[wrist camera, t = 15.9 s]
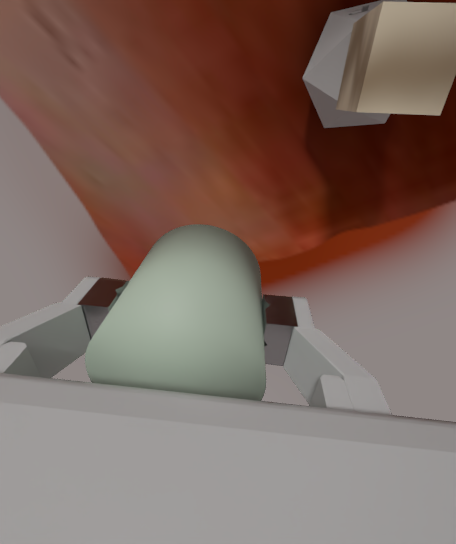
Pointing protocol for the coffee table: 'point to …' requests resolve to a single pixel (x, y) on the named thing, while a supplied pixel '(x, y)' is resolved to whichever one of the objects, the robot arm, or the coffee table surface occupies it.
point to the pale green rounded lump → (187, 320)
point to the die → (337, 69)
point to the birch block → (400, 59)
